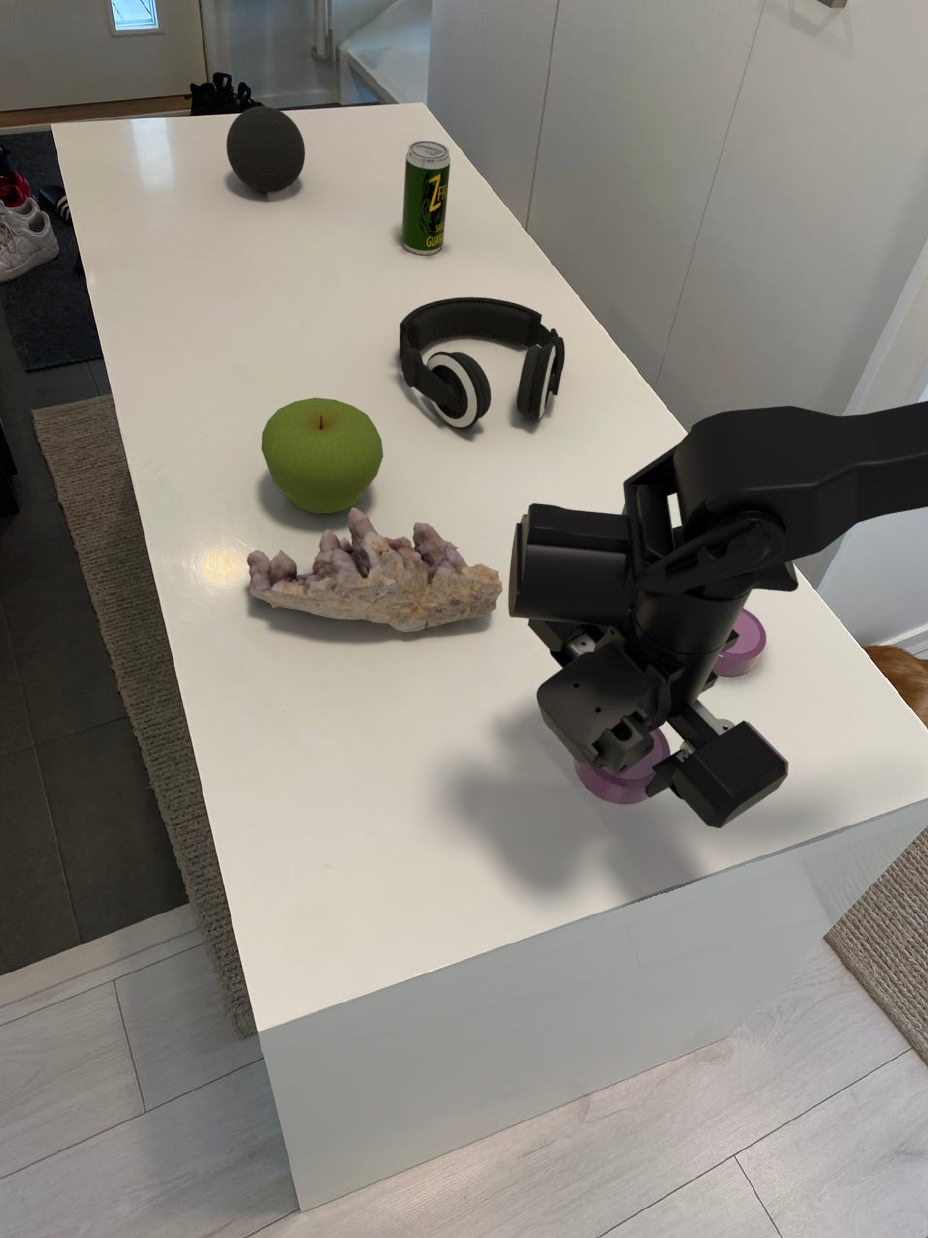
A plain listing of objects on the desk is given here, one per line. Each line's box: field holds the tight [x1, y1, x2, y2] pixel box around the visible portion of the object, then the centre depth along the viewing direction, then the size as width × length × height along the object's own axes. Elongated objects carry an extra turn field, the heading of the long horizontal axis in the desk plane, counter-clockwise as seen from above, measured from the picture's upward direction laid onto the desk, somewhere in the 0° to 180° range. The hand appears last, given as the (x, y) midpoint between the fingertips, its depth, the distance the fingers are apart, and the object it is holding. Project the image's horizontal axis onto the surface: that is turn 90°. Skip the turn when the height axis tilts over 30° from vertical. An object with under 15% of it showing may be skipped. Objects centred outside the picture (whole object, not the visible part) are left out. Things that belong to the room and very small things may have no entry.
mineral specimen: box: [246, 507, 503, 633], centre depth 78 cm, size 20×10×10 cm
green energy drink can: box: [401, 140, 451, 256], centre depth 116 cm, size 5×5×12 cm
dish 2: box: [712, 607, 767, 677], centre depth 81 cm, size 6×6×2 cm
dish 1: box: [573, 727, 672, 806], centre depth 66 cm, size 6×6×2 cm
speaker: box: [226, 106, 306, 193], centre depth 122 cm, size 10×10×10 cm
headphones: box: [399, 296, 566, 430], centre depth 100 cm, size 18×8×20 cm
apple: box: [261, 397, 384, 514], centre depth 85 cm, size 11×10×10 cm
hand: (620, 757), depth 66 cm, fingers closed on dish 1, 6 cm apart
